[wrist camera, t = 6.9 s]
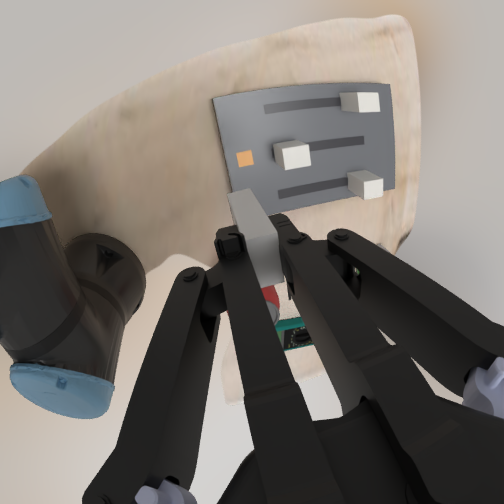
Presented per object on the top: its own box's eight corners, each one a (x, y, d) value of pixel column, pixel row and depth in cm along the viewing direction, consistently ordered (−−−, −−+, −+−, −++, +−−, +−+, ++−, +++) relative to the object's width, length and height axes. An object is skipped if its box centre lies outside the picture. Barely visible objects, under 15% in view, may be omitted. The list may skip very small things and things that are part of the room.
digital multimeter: (330, 332, 54) (335, 342, 52) (261, 346, 53) (264, 357, 50) (335, 306, 51) (341, 316, 48) (260, 320, 49) (264, 332, 46)
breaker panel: (237, 215, 37) (245, 237, 32) (212, 99, 29) (214, 96, 23) (386, 183, 39) (412, 198, 33) (380, 84, 30) (410, 84, 25)
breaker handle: (275, 162, 32) (285, 170, 28) (272, 143, 31) (282, 148, 27) (299, 158, 32) (311, 165, 29) (296, 139, 31) (308, 144, 27)
